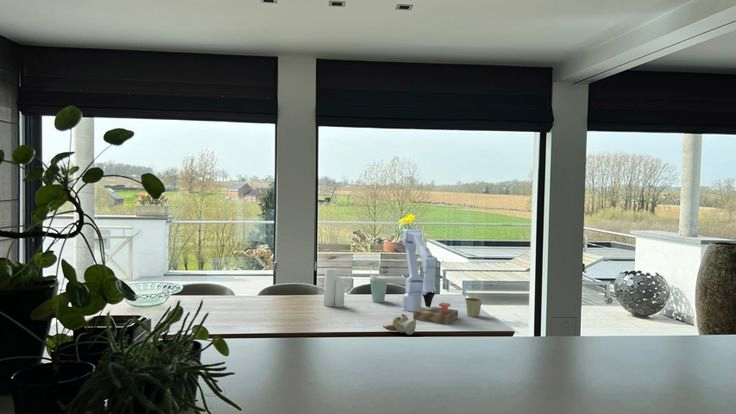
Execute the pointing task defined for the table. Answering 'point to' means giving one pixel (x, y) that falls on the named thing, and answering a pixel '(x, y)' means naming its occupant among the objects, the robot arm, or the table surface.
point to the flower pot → (473, 306)
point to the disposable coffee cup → (378, 287)
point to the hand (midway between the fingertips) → (427, 306)
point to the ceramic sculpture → (402, 325)
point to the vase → (333, 288)
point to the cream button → (428, 307)
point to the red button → (444, 307)
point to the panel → (435, 315)
